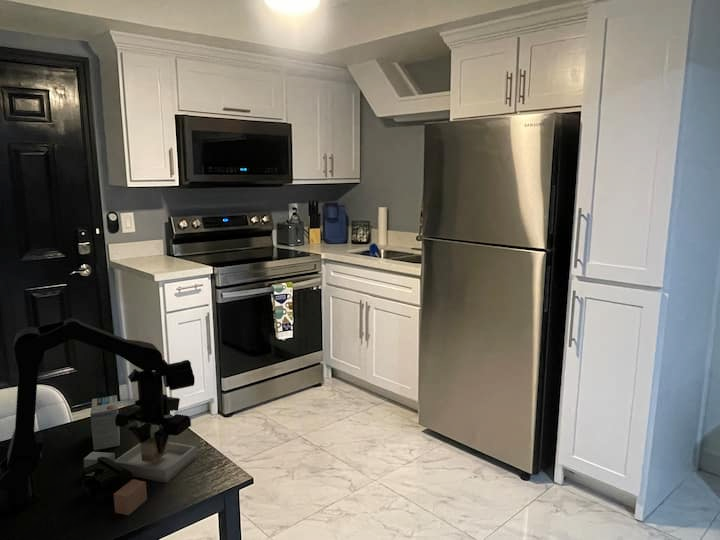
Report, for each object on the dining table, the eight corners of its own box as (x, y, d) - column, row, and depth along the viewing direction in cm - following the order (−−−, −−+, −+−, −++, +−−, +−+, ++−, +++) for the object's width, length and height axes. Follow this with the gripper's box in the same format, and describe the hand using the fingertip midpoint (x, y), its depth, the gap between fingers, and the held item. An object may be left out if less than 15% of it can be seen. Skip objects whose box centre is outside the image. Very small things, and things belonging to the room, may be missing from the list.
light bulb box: (94, 434, 151) (90, 398, 149) (120, 429, 153) (117, 394, 152) (93, 451, 141) (89, 413, 139) (120, 445, 144) (117, 408, 142)
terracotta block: (128, 515, 114) (126, 496, 113) (115, 512, 115) (113, 494, 114) (147, 499, 120) (145, 481, 119) (134, 497, 121) (132, 479, 120)
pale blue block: (116, 469, 132) (114, 453, 131) (107, 477, 129) (106, 460, 128) (94, 468, 133) (92, 451, 132) (85, 475, 130) (83, 458, 129)
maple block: (153, 463, 130) (152, 446, 130) (141, 460, 131) (140, 444, 131) (169, 451, 136) (167, 435, 135) (157, 449, 137) (156, 433, 136)
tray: (166, 482, 126) (165, 471, 125) (114, 472, 131) (112, 461, 130) (196, 457, 138) (196, 446, 137) (147, 448, 142) (147, 438, 142)
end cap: (134, 491, 123) (132, 465, 122) (105, 506, 117) (102, 479, 116) (112, 477, 129) (109, 452, 127) (82, 491, 123) (80, 465, 122)
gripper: (202, 386, 136) (205, 442, 138) (142, 378, 141) (146, 432, 144) (174, 403, 125) (179, 464, 128) (111, 394, 131) (116, 452, 133)
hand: (155, 452), depth 133 cm, fingers closed on maple block, 3 cm apart
